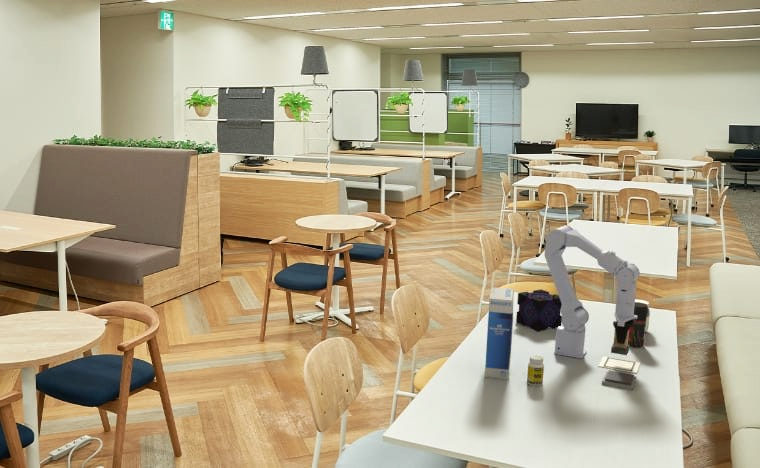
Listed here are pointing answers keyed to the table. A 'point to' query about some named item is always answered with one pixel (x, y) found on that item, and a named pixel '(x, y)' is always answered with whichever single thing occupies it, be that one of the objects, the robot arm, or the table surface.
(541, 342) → the table surface
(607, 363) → the marked card
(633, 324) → the deodorant
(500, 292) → the string lights box
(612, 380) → the ink pad
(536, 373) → the supplement bottle
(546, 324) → the energy cube
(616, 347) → the stamp
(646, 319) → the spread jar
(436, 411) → the table surface
